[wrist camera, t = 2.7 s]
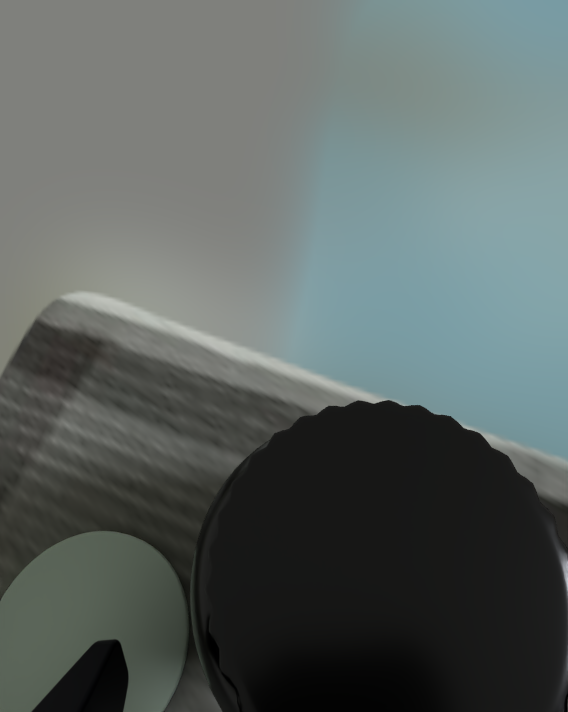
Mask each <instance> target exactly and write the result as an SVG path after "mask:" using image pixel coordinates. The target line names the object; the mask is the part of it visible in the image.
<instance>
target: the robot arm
mask: <svg viewBox="0 0 568 712" xmlns="http://www.w3.org/2000/svg"><path fill="white" fill-rule="evenodd" d="M128 682H129V674H128V668H127V665H126V661H125V657H124V653H123V649H122V646H121V643H120V641H119V640H117V639H110V640H100V641H97V642H95V643H94V644H92V645H91V646H90V647H89V649H88V650H87V651H86V652H85V653H84V654H83V655H82V656H81V657H80V659H79V660H78V661H77V662H76V663H75V664H74V665H73V666H72V667H71V668H70V670H69V671H68V672H67V673H66V674H65V675H64V676H63V677H62V678H61V679H60V681H59V682H58V683H57V684H56V685H55V686H54V687H53V688H52V689H51V690H50V692H49V693H48V694H47V695H46V696H45V697H44V698H43V699H42V700H41V701H40V703H39V704H38V705H37V706H36V707H35V708H34V709H33V710H32V711H31V712H123V710H124V705H125V700H126V694H127V689H128Z"/></svg>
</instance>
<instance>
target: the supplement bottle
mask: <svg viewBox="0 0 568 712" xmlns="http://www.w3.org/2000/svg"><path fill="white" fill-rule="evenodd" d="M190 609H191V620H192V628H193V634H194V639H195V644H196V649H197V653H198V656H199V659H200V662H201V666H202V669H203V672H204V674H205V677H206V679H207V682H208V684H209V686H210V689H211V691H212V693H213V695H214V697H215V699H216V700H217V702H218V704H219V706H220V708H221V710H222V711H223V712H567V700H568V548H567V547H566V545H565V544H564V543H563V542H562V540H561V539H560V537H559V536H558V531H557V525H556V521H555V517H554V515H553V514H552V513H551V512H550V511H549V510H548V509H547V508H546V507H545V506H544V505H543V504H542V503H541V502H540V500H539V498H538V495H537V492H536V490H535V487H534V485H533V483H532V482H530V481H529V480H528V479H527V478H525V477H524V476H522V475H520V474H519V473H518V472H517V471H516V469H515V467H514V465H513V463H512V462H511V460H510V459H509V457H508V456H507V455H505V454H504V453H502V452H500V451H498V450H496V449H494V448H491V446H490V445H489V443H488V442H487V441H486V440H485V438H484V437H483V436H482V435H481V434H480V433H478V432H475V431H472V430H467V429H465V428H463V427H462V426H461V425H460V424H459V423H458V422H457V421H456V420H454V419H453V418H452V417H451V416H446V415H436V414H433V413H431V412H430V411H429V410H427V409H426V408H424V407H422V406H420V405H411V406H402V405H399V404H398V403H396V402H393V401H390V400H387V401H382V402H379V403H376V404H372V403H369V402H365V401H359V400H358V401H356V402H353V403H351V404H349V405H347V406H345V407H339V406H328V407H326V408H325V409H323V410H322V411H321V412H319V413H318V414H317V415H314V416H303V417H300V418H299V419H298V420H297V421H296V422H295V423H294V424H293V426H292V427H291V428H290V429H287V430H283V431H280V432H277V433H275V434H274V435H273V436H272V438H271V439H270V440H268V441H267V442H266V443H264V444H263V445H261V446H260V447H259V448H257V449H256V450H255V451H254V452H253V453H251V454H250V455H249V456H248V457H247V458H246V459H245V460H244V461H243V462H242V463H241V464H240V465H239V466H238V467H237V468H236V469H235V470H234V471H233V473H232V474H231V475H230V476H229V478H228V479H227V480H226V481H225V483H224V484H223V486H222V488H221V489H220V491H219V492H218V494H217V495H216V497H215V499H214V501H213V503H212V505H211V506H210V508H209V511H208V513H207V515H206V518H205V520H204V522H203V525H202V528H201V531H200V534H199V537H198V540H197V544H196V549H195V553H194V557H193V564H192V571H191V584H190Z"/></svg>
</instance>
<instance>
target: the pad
mask: <svg viewBox="0 0 568 712" xmlns="http://www.w3.org/2000/svg"><path fill="white" fill-rule="evenodd" d="M189 633H190V622H189V610H188V604H187V599H186V595H185V592H184V589H183V586H182V583H181V581H180V579H179V577H178V575H177V573H176V571H175V570H174V568H173V567H172V565H171V564H170V562H169V561H168V560H167V559H166V558H165V557H164V555H163V554H162V553H160V552H159V551H158V550H157V549H156V548H155V547H153V546H152V545H150V544H148V543H147V542H145V541H143V540H141V539H138V538H136V537H134V536H131V535H127V534H123V533H119V532H113V531H93V532H87V533H82V534H79V535H76V536H72V537H69V538H67V539H65V540H63V541H61V542H59V543H57V544H55V545H53V546H52V547H50V548H48V549H47V550H45V551H44V552H43V553H41V554H40V555H39V556H37V557H36V558H35V559H34V560H33V561H32V562H30V563H29V564H28V565H27V566H26V567H25V568H24V569H23V570H22V571H21V573H20V574H19V575H18V576H17V577H16V578H15V580H14V581H13V582H12V584H11V585H10V586H9V588H8V589H7V591H6V592H5V594H4V595H3V597H2V599H1V601H0V712H31V711H32V710H33V709H34V708H35V707H36V706H37V705H38V704H39V703H40V701H41V700H42V699H43V698H44V697H45V696H46V695H47V694H48V693H49V692H50V690H51V689H52V688H53V687H54V686H55V685H56V684H57V683H58V682H59V681H60V679H61V678H62V677H63V676H64V675H65V674H66V673H67V672H68V671H69V670H70V668H71V667H72V666H73V665H74V664H75V663H76V662H77V661H78V660H79V659H80V657H81V656H82V655H83V654H84V653H85V652H86V651H87V650H88V649H89V647H90V646H91V645H92V644H94V643H95V642H97V641H100V640H110V639H117V640H119V641H120V643H121V646H122V649H123V653H124V657H125V661H126V665H127V668H128V674H129V682H128V689H127V694H126V700H125V705H124V710H123V712H164V710H165V709H166V707H167V706H168V704H169V702H170V700H171V698H172V696H173V694H174V692H175V690H176V688H177V686H178V683H179V681H180V678H181V675H182V673H183V669H184V665H185V662H186V658H187V652H188V646H189Z"/></svg>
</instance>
